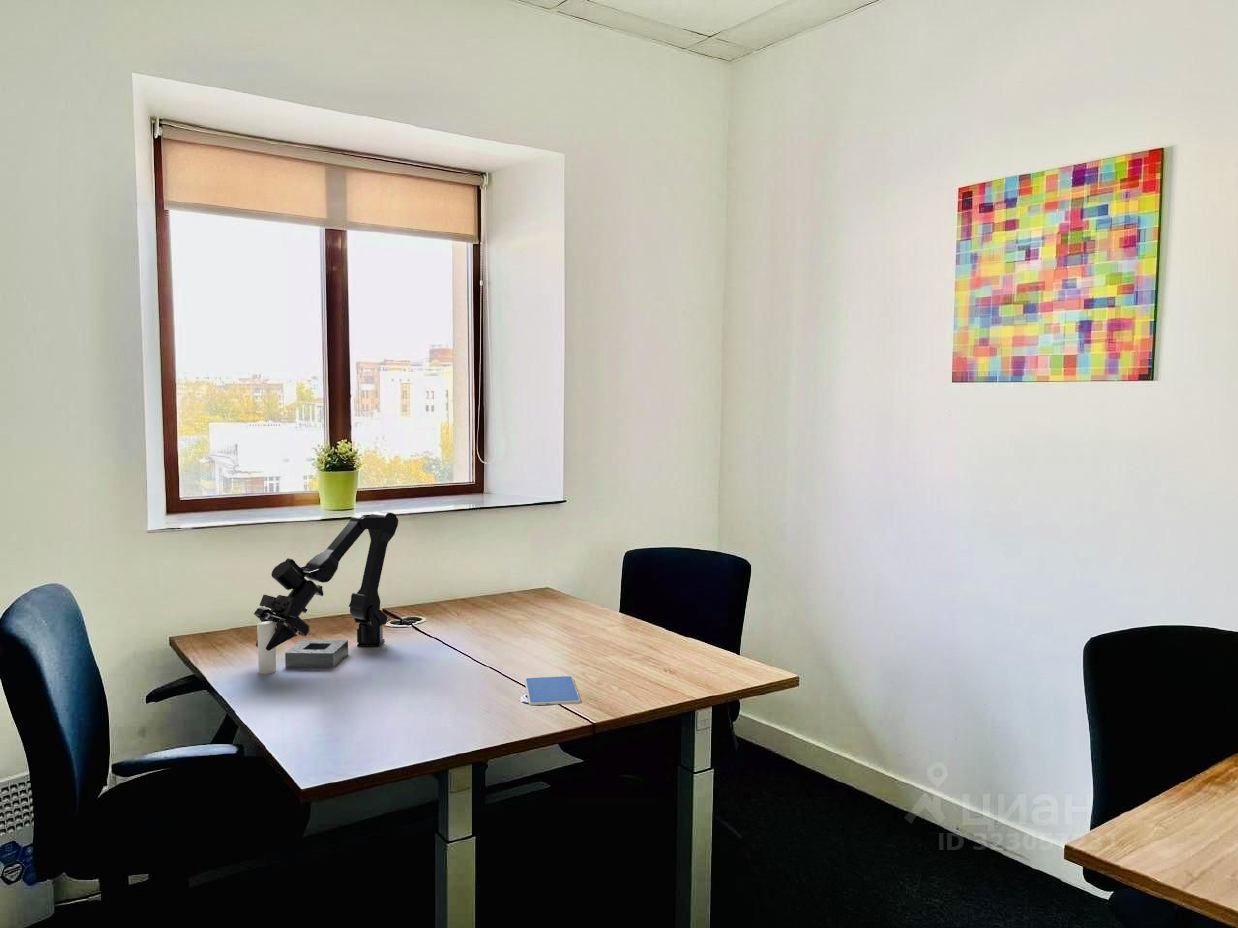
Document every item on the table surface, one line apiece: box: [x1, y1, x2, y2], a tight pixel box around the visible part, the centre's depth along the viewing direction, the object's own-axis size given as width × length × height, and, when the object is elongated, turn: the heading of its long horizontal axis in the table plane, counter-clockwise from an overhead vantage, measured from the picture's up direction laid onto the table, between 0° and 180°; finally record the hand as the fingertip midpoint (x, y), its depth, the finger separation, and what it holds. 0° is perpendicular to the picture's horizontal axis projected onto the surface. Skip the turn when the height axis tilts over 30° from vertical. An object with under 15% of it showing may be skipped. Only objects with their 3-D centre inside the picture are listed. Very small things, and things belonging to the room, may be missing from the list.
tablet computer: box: [524, 675, 582, 706], centre depth 230 cm, size 19×13×1 cm, turn 9°
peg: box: [256, 621, 277, 675], centre depth 244 cm, size 4×4×13 cm
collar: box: [284, 639, 349, 669], centre depth 254 cm, size 13×13×4 cm
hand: (261, 648), depth 243 cm, fingers closed on peg, 4 cm apart
